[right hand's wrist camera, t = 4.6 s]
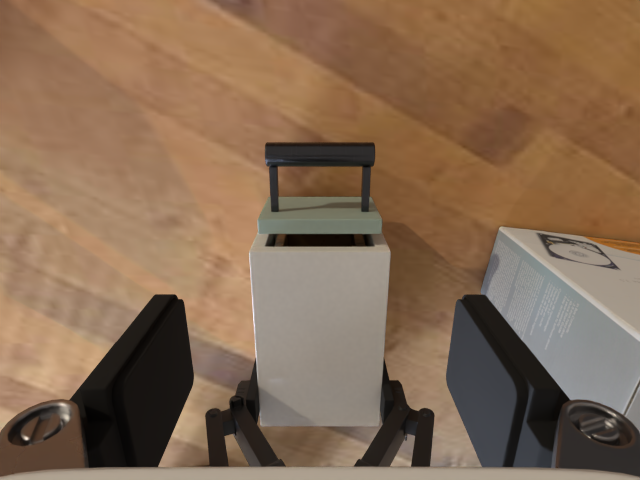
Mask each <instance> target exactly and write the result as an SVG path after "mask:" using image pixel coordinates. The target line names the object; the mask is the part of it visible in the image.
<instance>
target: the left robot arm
mask: <svg viewBox="0 0 640 480" xmlns="http://www.w3.org/2000/svg"><path fill="white" fill-rule="evenodd" d="M229 403H230V408H229V409H228V410H225V411H220V410H219V409H216V408H214V409H210V410H209V411H207V413H206V415H205V417H206V428H207V440H208V451H209V462H210V466H201V467H229V466H228V459H227V452H226V444H225V437H224V436H226V435H230V434H233V435H234V437H235V439H236V441H237V443H238V444H239V446H240V448H241V450H242V452H243V454H244V456H245V458H246V460H247V461H248V463H249V465H250V467H286V466H285V464H284V463H283V461H282V460H281V459H278V458H277V456H276V455H275V453H274V451H273V450H272V448H271V447H270V445H269V443H268V442H267V440H266V438H265V437H264V435H263V434H262V432H261V430H260V429H259V427H258V426H257V422H258V417H259V411H260V407H259V392H258V378H257V363H256V359H255V363H254V368H253V372H252V376H251V380H250V381H241V382H240V383H239V384H238V388H237V391H236V395H235V396H233V397H231V398H230V401H229ZM380 412H381V418H382V423H383V425H382V427H381V429H380V430H379V432H378V433H377V435H376V437H375V438H374V440H373V441H372V443H371V445H370V446H369V448H368V450H367V451H366V453H365V454H364V456H363V458H362V459H361V460H360V459H358V461H357V462H356V464H355V465H354V467H390V465H391V463H392V461H393V459H394V457H395V456H396V454H397V452H398V450H399V448H400V446H401V444H402V442H403V441H404V439H405V440H407V434H411V435H414V436H415V443H414V450H413V457H412V464H411V467H430V459H431V448H432V437H433V426H434V413H433V411H432V410H430V409H428V408H422V409H420V410H419V411H416V410H413V409H411V408H410V407H409V406H408V405H407V402H406V399H405V395H404V391H403V388H402V384H401V383H400V382H399V381H398V380H389V377H388V373H387V368H386V364H385V360H384V361H383V376H382V389H381V404H380Z"/></svg>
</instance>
